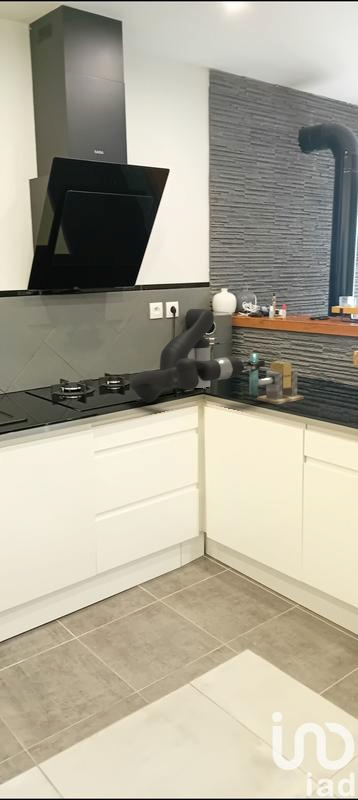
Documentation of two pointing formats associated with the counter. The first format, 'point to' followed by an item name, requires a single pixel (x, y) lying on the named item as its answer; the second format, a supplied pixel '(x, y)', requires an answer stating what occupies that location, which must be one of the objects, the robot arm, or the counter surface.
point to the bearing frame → (280, 389)
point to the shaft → (254, 377)
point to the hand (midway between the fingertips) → (260, 362)
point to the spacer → (283, 372)
